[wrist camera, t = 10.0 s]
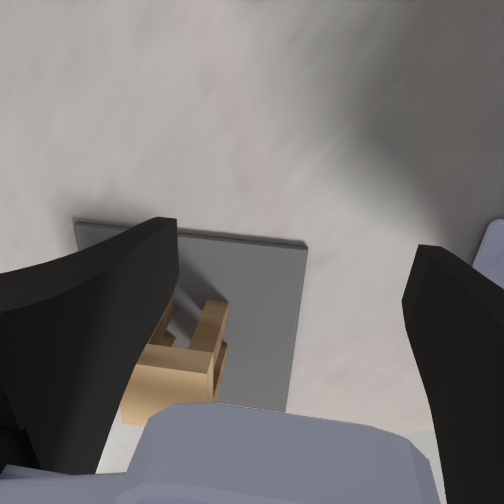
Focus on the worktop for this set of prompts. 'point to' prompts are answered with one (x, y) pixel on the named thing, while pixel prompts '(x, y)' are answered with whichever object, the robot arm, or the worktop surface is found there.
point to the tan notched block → (178, 366)
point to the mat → (236, 308)
